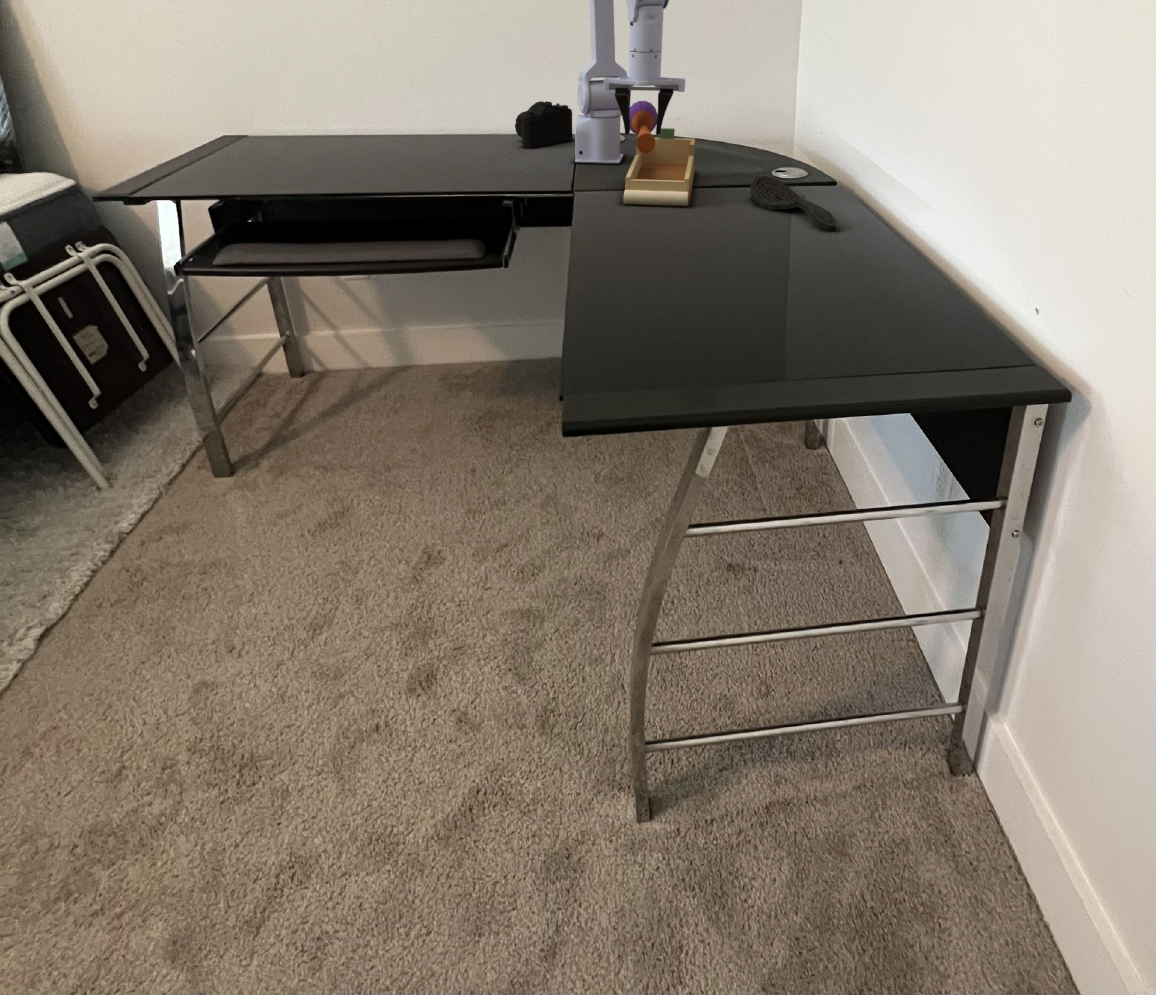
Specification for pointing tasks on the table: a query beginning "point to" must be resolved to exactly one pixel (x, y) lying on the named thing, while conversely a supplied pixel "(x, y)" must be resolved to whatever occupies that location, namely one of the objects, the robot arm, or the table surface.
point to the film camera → (544, 125)
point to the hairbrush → (788, 200)
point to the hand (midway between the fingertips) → (642, 133)
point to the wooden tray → (662, 173)
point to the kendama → (643, 124)
